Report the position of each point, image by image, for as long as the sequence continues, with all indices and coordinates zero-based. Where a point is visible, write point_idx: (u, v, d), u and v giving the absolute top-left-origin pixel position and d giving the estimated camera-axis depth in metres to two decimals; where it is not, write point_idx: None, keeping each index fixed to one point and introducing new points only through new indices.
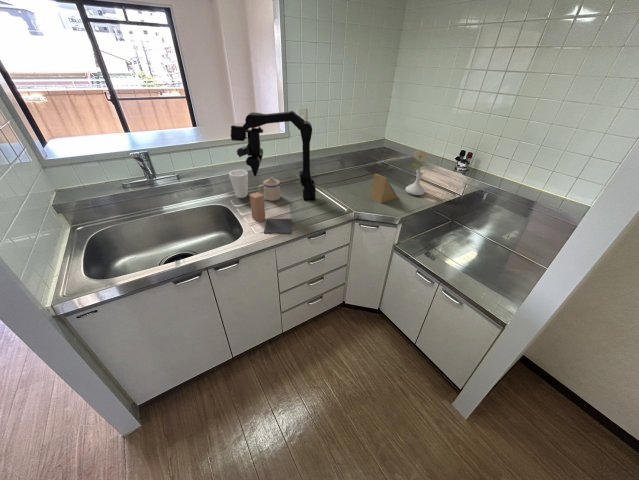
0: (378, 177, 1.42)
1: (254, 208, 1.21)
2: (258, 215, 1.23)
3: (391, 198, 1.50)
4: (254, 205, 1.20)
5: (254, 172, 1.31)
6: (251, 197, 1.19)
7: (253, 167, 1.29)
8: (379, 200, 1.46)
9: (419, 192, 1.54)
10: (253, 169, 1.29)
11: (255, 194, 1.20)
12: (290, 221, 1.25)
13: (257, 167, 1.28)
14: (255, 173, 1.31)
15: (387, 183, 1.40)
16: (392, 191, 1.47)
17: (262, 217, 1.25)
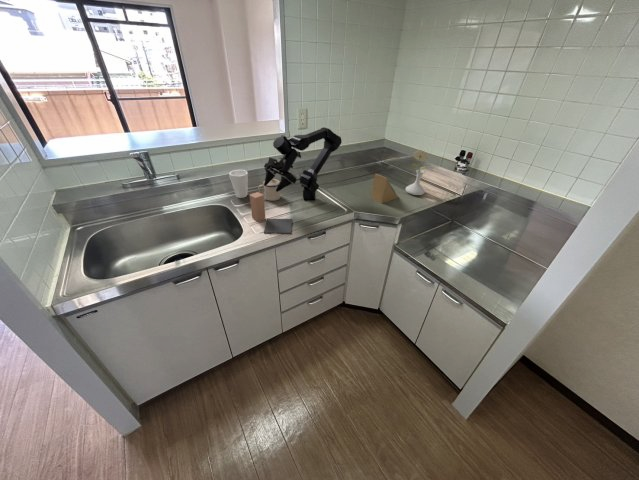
0: (379, 177, 1.42)
1: (254, 208, 1.21)
2: (258, 215, 1.23)
3: (391, 198, 1.50)
4: (254, 205, 1.20)
5: (279, 188, 1.21)
6: (251, 197, 1.19)
7: (283, 183, 1.20)
8: (380, 200, 1.46)
9: (419, 192, 1.54)
10: (281, 185, 1.20)
11: (255, 194, 1.20)
12: (290, 221, 1.25)
13: (286, 185, 1.22)
14: (279, 189, 1.21)
15: (388, 183, 1.40)
16: (392, 191, 1.47)
17: (262, 217, 1.25)
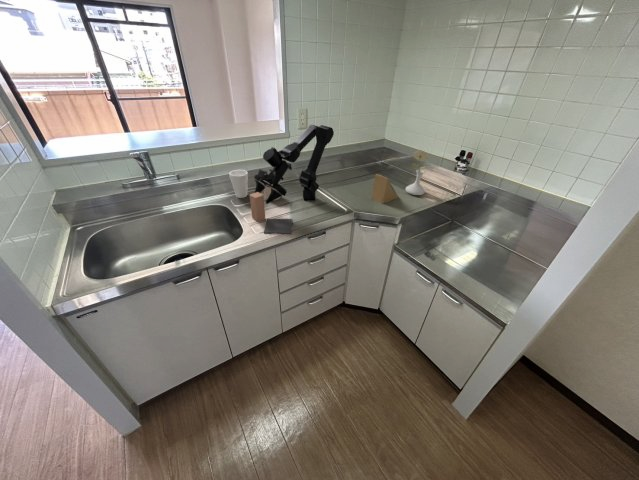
0: (379, 177, 1.42)
1: (254, 208, 1.21)
2: (258, 215, 1.23)
3: (392, 198, 1.50)
4: (254, 205, 1.20)
5: (269, 200, 1.19)
6: (251, 197, 1.19)
7: (273, 195, 1.19)
8: (380, 200, 1.46)
9: (419, 192, 1.54)
10: (271, 197, 1.19)
11: (255, 194, 1.20)
12: (290, 221, 1.25)
13: (276, 197, 1.20)
14: (269, 201, 1.20)
15: (388, 183, 1.40)
16: (393, 191, 1.47)
17: (262, 217, 1.25)
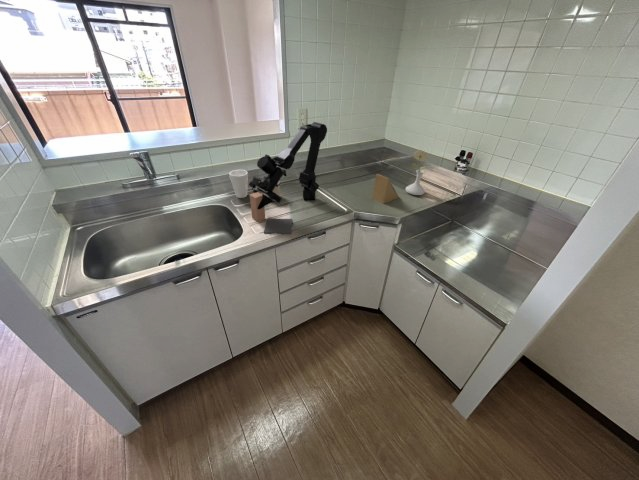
0: (380, 177, 1.41)
1: (254, 208, 1.21)
2: (258, 215, 1.22)
3: (392, 198, 1.50)
4: (254, 205, 1.20)
5: (261, 205, 1.20)
6: (251, 197, 1.19)
7: (264, 201, 1.20)
8: (381, 200, 1.46)
9: (419, 192, 1.54)
10: (263, 202, 1.20)
11: (255, 194, 1.20)
12: (290, 221, 1.25)
13: (268, 202, 1.21)
14: (261, 207, 1.21)
15: (389, 183, 1.40)
16: (394, 191, 1.47)
17: (262, 217, 1.25)
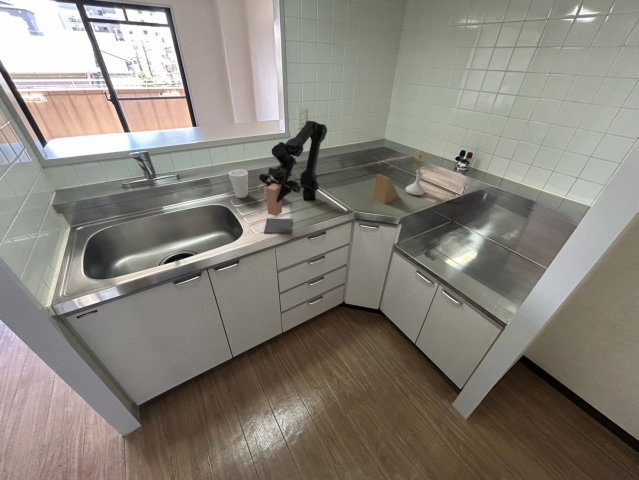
0: (381, 178, 1.41)
1: (272, 202, 1.12)
2: (277, 208, 1.14)
3: (393, 198, 1.50)
4: (273, 198, 1.11)
5: (280, 198, 1.12)
6: (268, 190, 1.10)
7: (283, 192, 1.12)
8: (382, 200, 1.46)
9: (419, 192, 1.54)
10: (282, 194, 1.12)
11: (272, 186, 1.11)
12: (290, 221, 1.25)
13: (286, 194, 1.14)
14: (280, 199, 1.13)
15: (390, 183, 1.40)
16: (394, 191, 1.47)
17: (279, 210, 1.17)
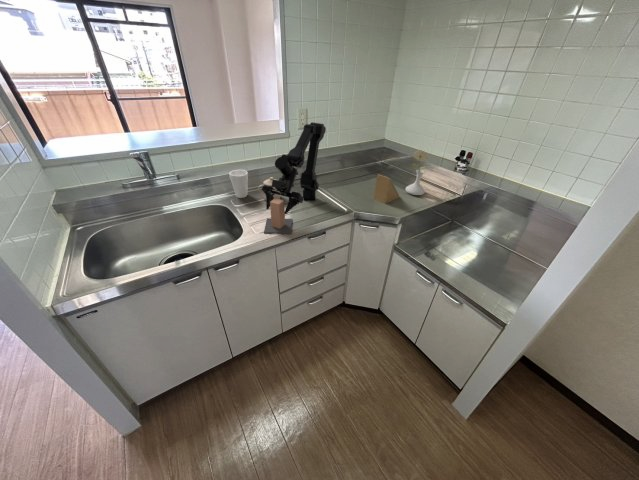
0: (382, 178, 1.41)
1: (276, 215, 1.16)
2: (280, 221, 1.17)
3: (394, 198, 1.50)
4: (276, 212, 1.15)
5: (288, 210, 1.14)
6: (272, 204, 1.13)
7: (291, 204, 1.14)
8: (383, 201, 1.46)
9: (419, 192, 1.54)
10: (290, 206, 1.14)
11: (275, 200, 1.14)
12: (290, 221, 1.25)
13: (293, 205, 1.16)
14: (287, 211, 1.15)
15: (391, 183, 1.40)
16: (395, 191, 1.47)
17: (283, 223, 1.20)
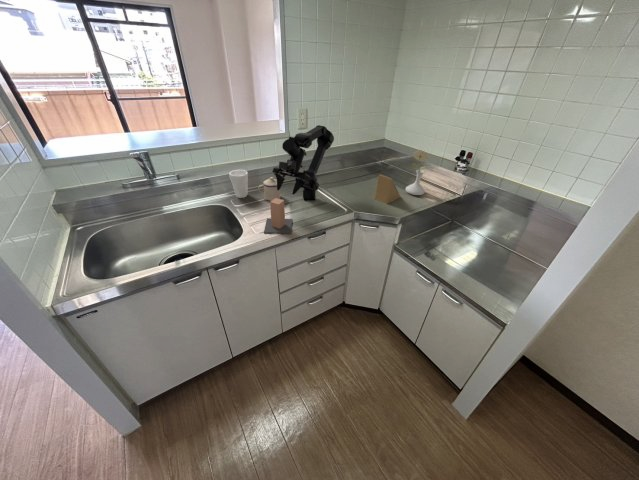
0: (383, 178, 1.41)
1: (276, 215, 1.16)
2: (280, 221, 1.17)
3: (395, 198, 1.50)
4: (276, 212, 1.15)
5: (295, 190, 1.20)
6: (272, 204, 1.13)
7: (298, 184, 1.19)
8: (384, 201, 1.46)
9: (419, 192, 1.54)
10: (297, 186, 1.19)
11: (275, 200, 1.14)
12: (290, 221, 1.25)
13: (301, 185, 1.21)
14: (295, 191, 1.20)
15: (392, 183, 1.40)
16: (396, 191, 1.47)
17: (283, 223, 1.20)
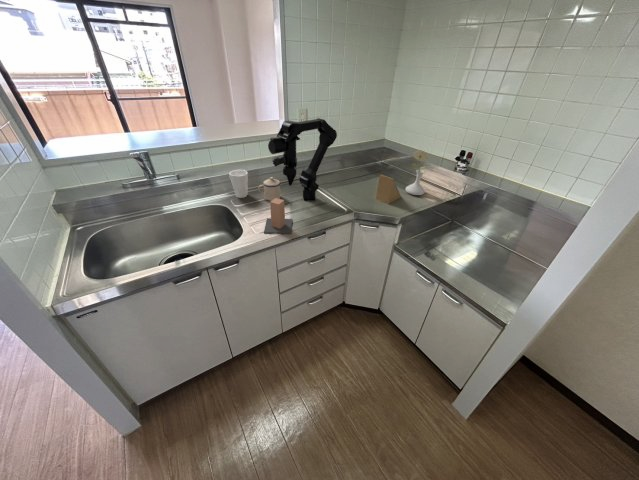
0: (384, 178, 1.41)
1: (276, 215, 1.16)
2: (280, 221, 1.17)
3: (395, 198, 1.50)
4: (276, 212, 1.15)
5: (290, 182, 1.27)
6: (272, 204, 1.13)
7: (289, 177, 1.25)
8: (385, 201, 1.46)
9: (419, 192, 1.54)
10: (289, 179, 1.25)
11: (275, 200, 1.14)
12: (290, 221, 1.25)
13: (293, 177, 1.24)
14: (291, 183, 1.27)
15: (394, 183, 1.40)
16: (397, 191, 1.48)
17: (283, 223, 1.20)
